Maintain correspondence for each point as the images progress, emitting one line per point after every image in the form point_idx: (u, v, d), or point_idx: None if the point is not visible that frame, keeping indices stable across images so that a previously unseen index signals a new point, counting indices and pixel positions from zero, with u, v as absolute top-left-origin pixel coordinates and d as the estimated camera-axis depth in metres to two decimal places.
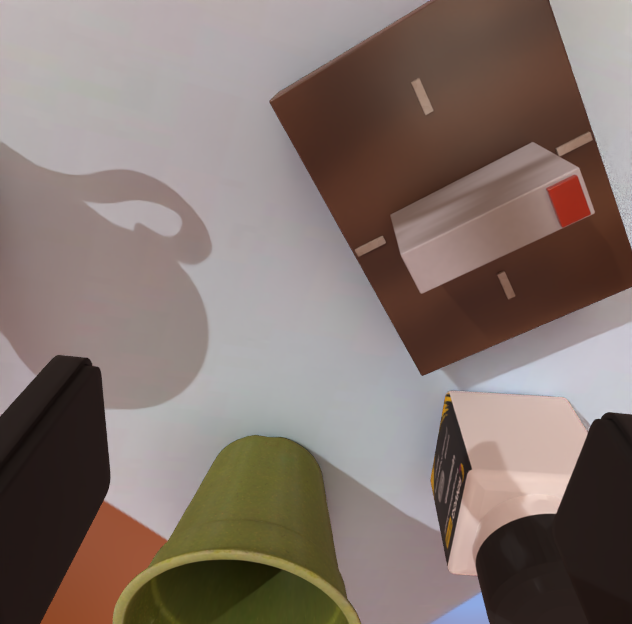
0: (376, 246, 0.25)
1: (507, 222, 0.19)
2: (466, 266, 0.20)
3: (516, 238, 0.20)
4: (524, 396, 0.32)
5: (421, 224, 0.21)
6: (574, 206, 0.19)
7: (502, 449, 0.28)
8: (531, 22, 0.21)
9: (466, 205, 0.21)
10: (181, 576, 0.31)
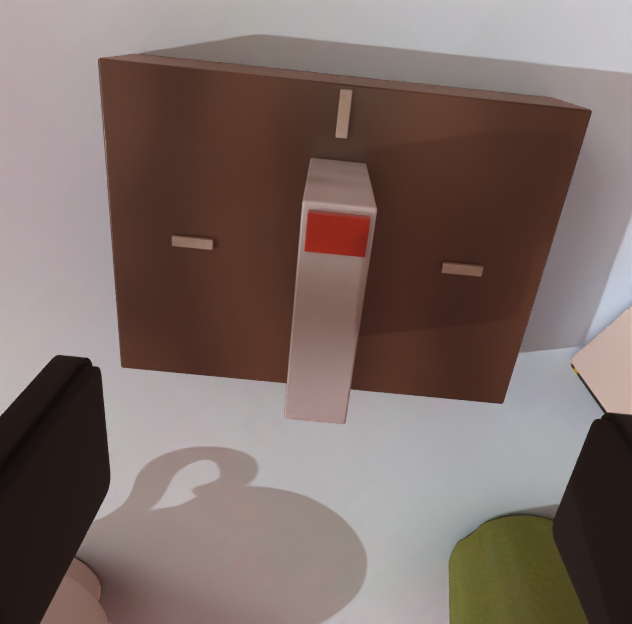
0: None
1: (319, 305, 0.14)
2: (344, 368, 0.15)
3: (346, 306, 0.14)
4: None
5: None
6: (346, 232, 0.13)
7: None
8: (178, 95, 0.17)
9: None
10: None
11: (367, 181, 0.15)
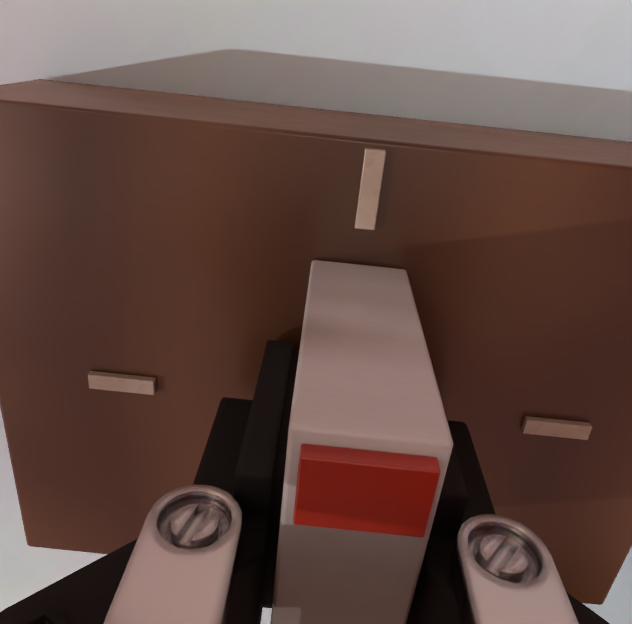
0: None
1: (325, 599, 0.07)
2: None
3: (379, 603, 0.07)
4: None
5: None
6: (384, 495, 0.06)
7: None
8: (84, 157, 0.10)
9: None
10: None
11: (416, 329, 0.08)
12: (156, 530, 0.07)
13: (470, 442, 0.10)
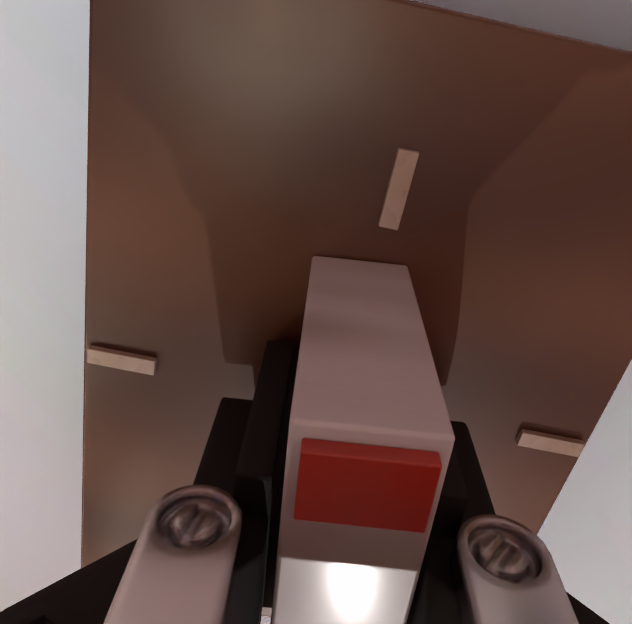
0: (542, 438, 0.12)
1: (325, 596, 0.07)
2: None
3: (380, 599, 0.07)
4: None
5: None
6: (385, 490, 0.06)
7: None
8: (113, 527, 0.14)
9: None
10: None
11: (418, 325, 0.08)
12: (156, 530, 0.07)
13: (470, 442, 0.10)
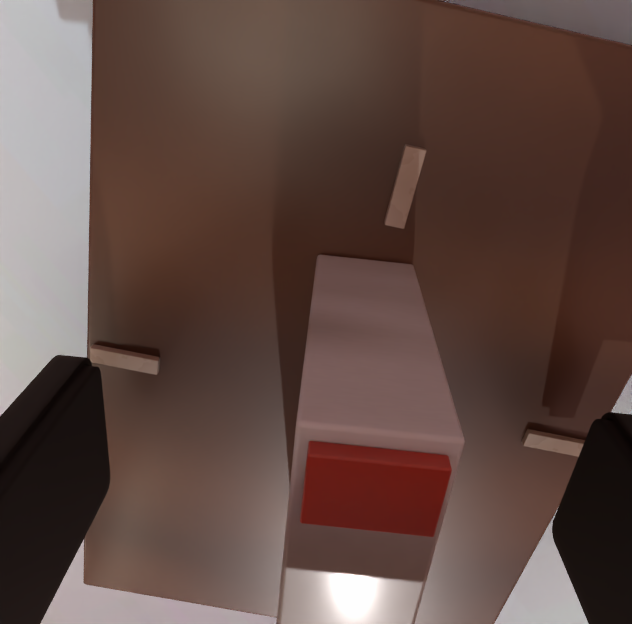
0: (548, 439, 0.12)
1: (331, 600, 0.07)
2: None
3: (387, 603, 0.07)
4: None
5: None
6: (393, 494, 0.06)
7: None
8: (116, 527, 0.14)
9: None
10: None
11: (425, 325, 0.08)
12: None
13: None
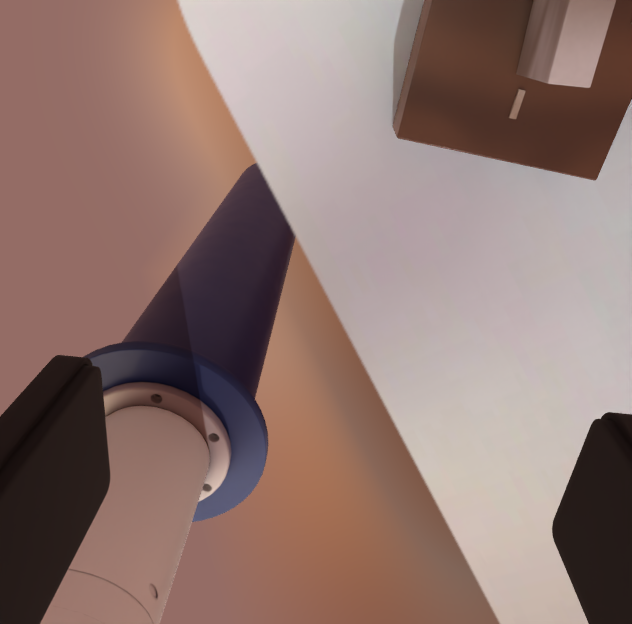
0: None
1: None
2: (599, 36, 0.22)
3: None
4: None
5: (540, 52, 0.24)
6: None
7: None
8: (425, 93, 0.28)
9: (555, 6, 0.23)
10: None
11: None
12: None
13: None
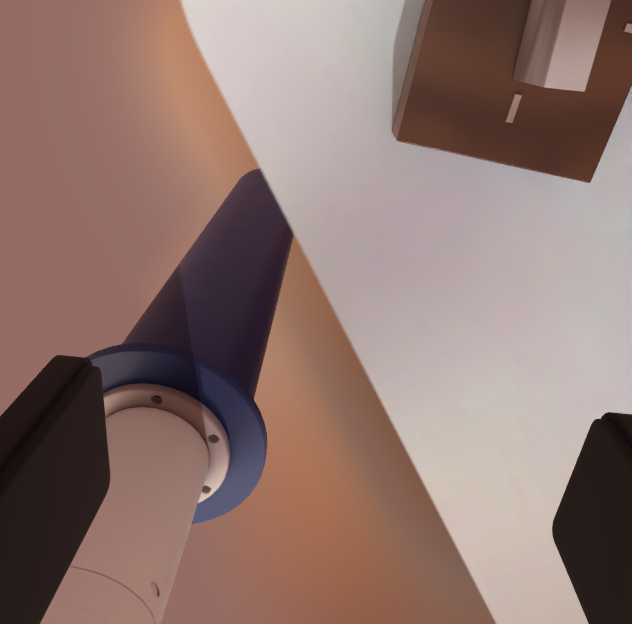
0: None
1: None
2: (593, 42, 0.23)
3: None
4: None
5: (536, 57, 0.25)
6: None
7: None
8: (424, 97, 0.29)
9: (550, 13, 0.24)
10: None
11: None
12: None
13: None
